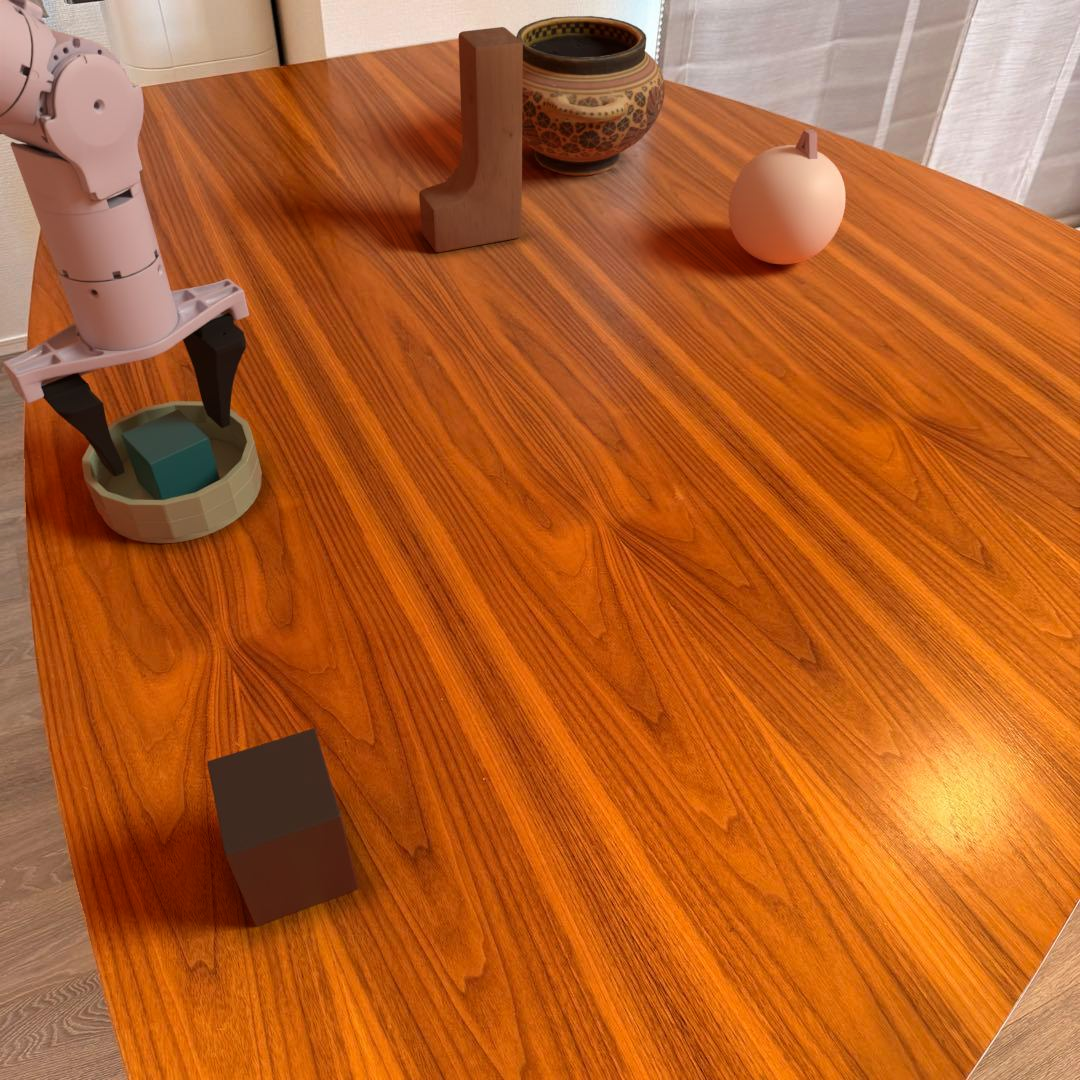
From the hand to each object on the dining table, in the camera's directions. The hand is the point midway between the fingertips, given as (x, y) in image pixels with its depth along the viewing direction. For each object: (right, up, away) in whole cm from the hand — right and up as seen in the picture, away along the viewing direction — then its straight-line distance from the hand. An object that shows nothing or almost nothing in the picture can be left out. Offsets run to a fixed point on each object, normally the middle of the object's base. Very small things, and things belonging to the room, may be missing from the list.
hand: (167, 443), depth 65 cm
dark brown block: (+13, -23, -17) cm, 31 cm away
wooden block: (+18, +23, +30) cm, 42 cm away
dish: (0, -3, +3) cm, 4 cm away
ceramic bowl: (+29, +36, +43) cm, 63 cm away
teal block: (0, -3, +2) cm, 3 cm away
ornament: (+48, +21, +28) cm, 59 cm away
